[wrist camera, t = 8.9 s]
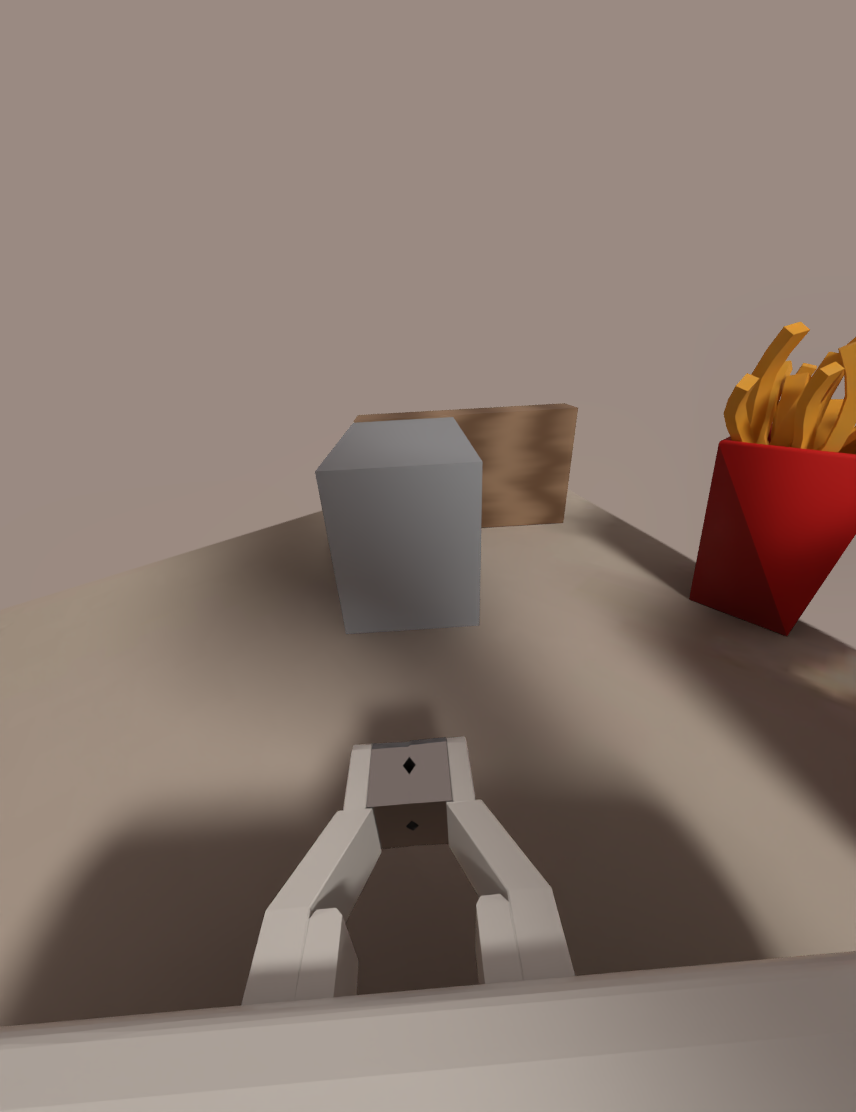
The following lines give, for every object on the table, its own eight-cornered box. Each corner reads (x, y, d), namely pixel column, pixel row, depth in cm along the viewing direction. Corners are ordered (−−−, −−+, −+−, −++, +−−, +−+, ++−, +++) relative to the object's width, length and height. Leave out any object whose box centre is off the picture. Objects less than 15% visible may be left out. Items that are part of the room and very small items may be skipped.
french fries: (706, 562, 28) (787, 323, 21) (867, 612, 22) (1054, 307, 15) (651, 612, 23) (733, 325, 16) (838, 691, 18) (1092, 300, 10)
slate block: (346, 635, 23) (315, 471, 18) (368, 535, 35) (353, 422, 31) (479, 626, 23) (482, 461, 18) (455, 530, 35) (453, 417, 31)
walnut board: (369, 534, 35) (353, 420, 30) (371, 521, 38) (358, 415, 33) (563, 522, 35) (578, 407, 31) (552, 510, 38) (564, 403, 33)
